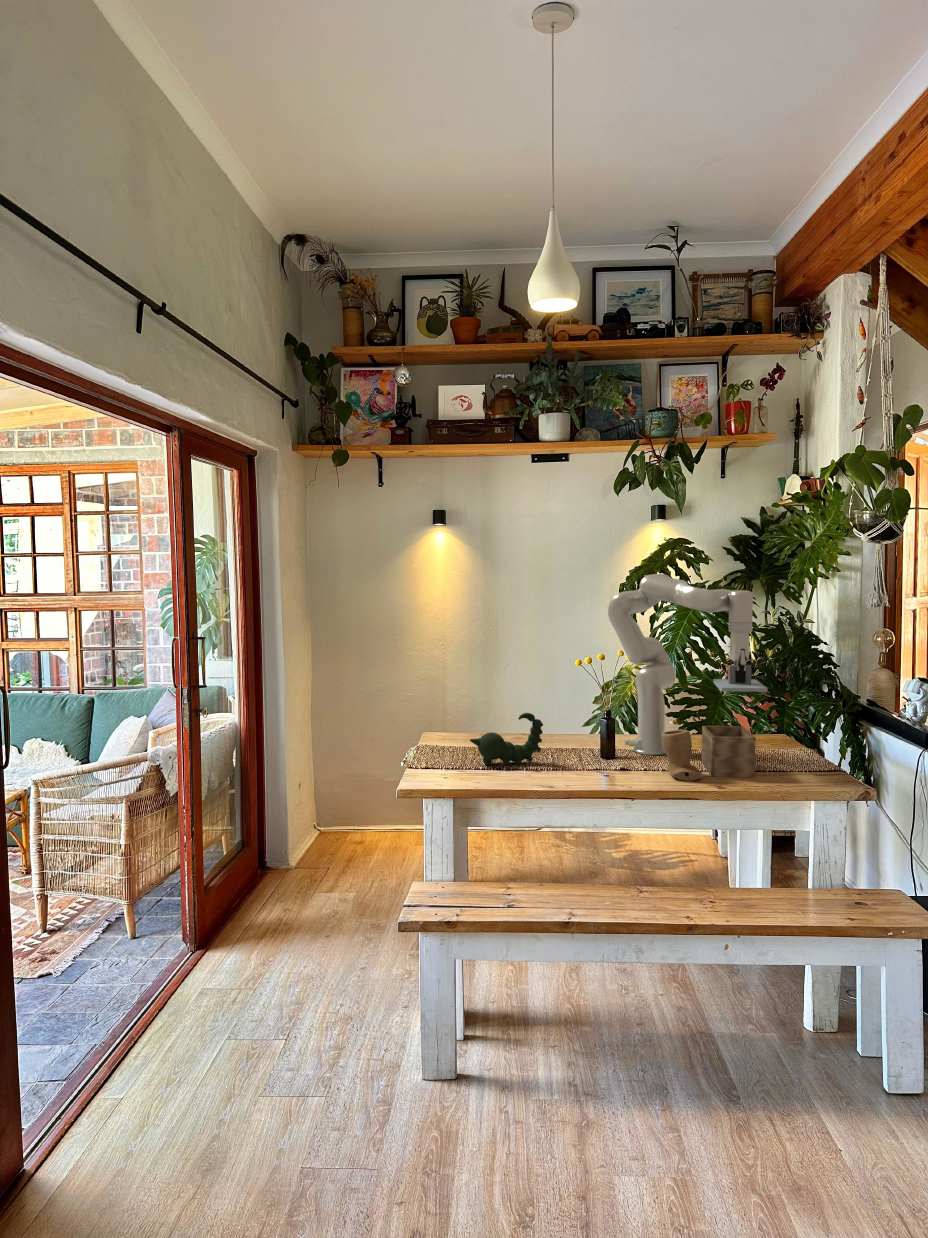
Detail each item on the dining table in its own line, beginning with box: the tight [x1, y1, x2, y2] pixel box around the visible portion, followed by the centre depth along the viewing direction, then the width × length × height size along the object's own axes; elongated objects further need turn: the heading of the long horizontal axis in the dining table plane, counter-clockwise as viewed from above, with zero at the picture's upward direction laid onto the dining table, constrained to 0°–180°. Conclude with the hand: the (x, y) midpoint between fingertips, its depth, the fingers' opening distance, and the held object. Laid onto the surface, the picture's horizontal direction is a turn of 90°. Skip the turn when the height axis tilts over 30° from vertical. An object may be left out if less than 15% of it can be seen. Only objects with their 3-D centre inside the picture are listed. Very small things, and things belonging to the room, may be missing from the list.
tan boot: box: [661, 729, 704, 782], centre depth 277 cm, size 15×12×15 cm
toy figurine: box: [469, 712, 544, 766], centre depth 295 cm, size 9×19×25 cm
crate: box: [701, 725, 757, 778], centre depth 283 cm, size 14×18×13 cm
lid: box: [712, 664, 769, 693], centre depth 287 cm, size 14×18×7 cm
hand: (739, 681), depth 287 cm, fingers closed on lid, 2 cm apart
